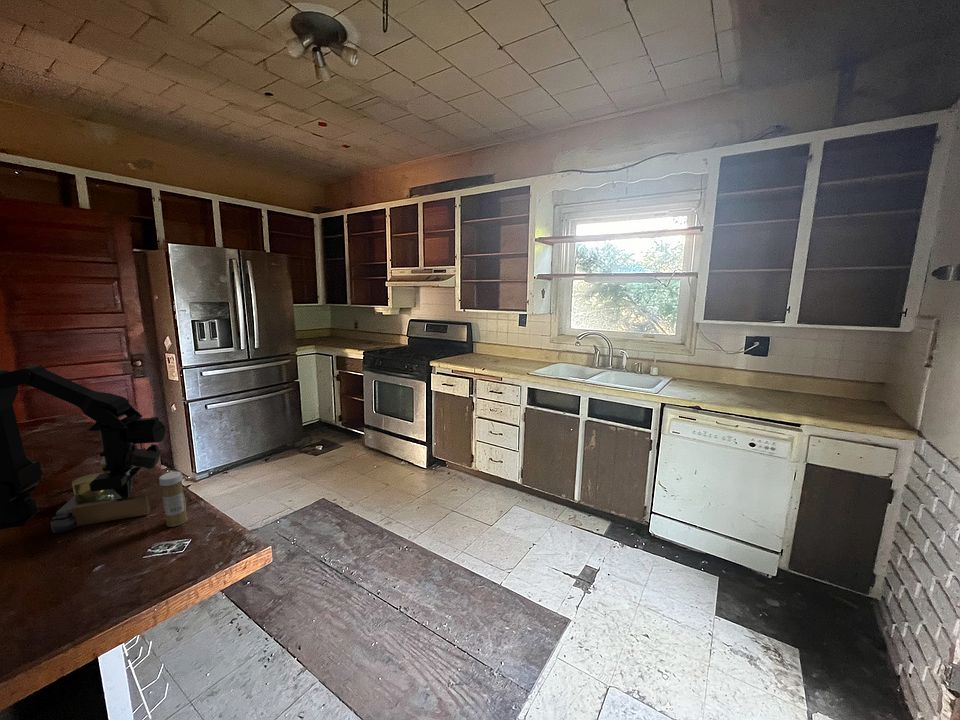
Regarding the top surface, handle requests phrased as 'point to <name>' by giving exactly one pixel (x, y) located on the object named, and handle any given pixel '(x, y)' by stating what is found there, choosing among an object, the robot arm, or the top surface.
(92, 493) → the plate
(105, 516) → the brown bar with knob
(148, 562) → the top surface
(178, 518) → the sprinkles bottle
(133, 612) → the top surface
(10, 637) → the top surface
